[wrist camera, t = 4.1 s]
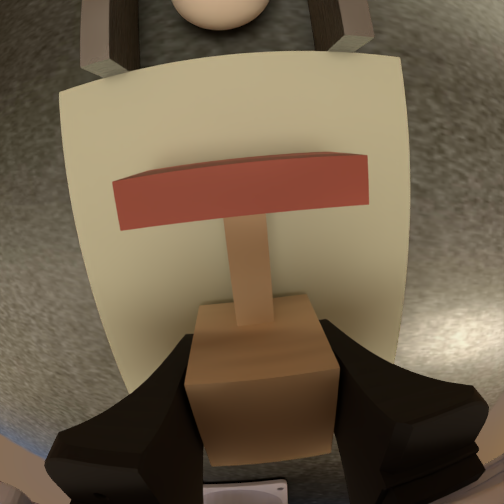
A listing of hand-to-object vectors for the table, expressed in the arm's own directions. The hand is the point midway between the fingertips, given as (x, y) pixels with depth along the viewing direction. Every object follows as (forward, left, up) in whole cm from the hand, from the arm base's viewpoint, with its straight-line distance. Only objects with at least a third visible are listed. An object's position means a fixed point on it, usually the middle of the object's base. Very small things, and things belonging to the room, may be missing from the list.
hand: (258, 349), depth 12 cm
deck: (+2, 0, -3) cm, 3 cm away
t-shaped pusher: (+2, 0, -1) cm, 2 cm away
